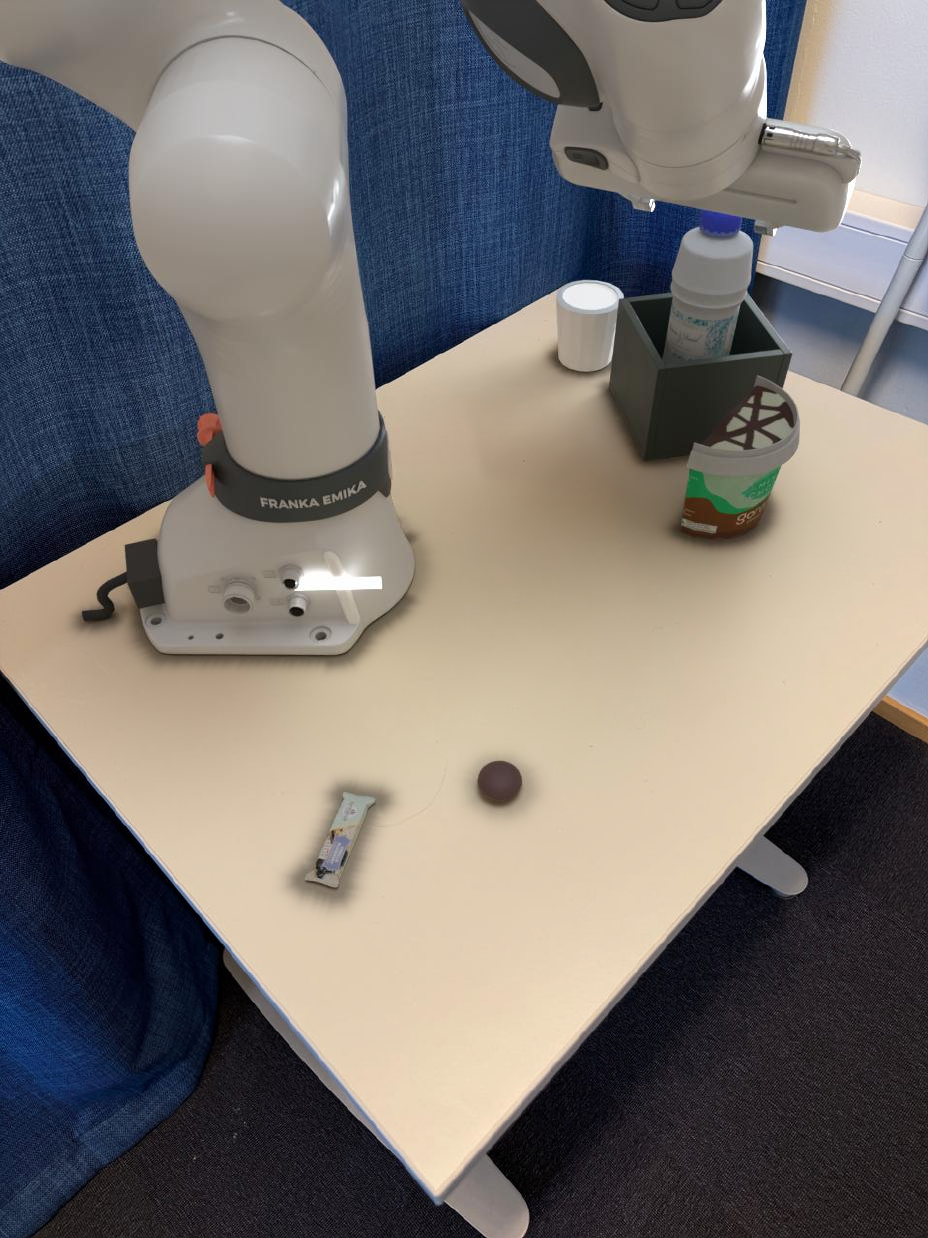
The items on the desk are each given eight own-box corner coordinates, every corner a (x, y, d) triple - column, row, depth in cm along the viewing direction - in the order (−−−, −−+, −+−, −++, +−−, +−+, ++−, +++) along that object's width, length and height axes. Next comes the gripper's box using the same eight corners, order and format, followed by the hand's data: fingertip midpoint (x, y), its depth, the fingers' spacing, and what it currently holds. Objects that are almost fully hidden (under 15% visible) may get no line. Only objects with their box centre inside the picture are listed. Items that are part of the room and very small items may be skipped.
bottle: (636, 404, 89) (666, 198, 74) (685, 380, 92) (722, 176, 77) (686, 437, 85) (728, 227, 70) (735, 410, 88) (785, 203, 73)
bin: (643, 460, 84) (658, 368, 77) (608, 387, 92) (618, 298, 85) (767, 444, 86) (793, 353, 78) (722, 373, 94) (741, 284, 86)
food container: (737, 570, 75) (765, 476, 67) (671, 540, 77) (690, 446, 70) (799, 491, 81) (830, 396, 73) (736, 466, 84) (760, 372, 76)
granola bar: (345, 794, 62) (343, 786, 61) (376, 802, 61) (375, 794, 60) (305, 883, 57) (302, 875, 57) (338, 893, 57) (336, 885, 56)
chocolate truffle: (476, 805, 61) (476, 793, 59) (478, 767, 63) (478, 754, 61) (521, 807, 60) (522, 794, 59) (522, 768, 62) (522, 755, 61)
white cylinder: (539, 359, 96) (542, 298, 91) (577, 332, 99) (581, 271, 94) (593, 382, 93) (598, 320, 88) (629, 353, 96) (637, 292, 91)
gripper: (884, 91, 52) (861, 197, 65) (556, 43, 58) (595, 148, 72) (845, 200, 53) (830, 282, 66) (525, 141, 59) (570, 227, 72)
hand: (706, 212), depth 69 cm, fingers open, 8 cm apart
